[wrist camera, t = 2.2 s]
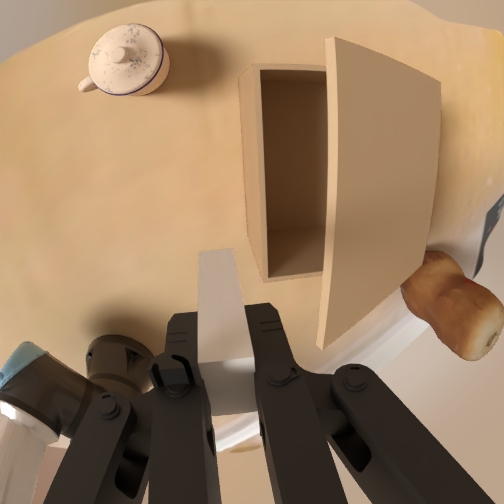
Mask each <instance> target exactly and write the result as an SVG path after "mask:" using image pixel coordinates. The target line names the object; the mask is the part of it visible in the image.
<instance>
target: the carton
mask: <svg viewBox="0 0 504 504" xmlns="http://www.w3.org/2000/svg"><path fill="white" fill-rule="evenodd" d="M239 97H240V114H241V131H242V149H243V166H244V183H245V200H246V216H247V233H248V238H249V241H250V244H251V247H252V250H253V253H254V256H255V260H256V263H257V266H258V269H259V272H260V275H261V278H262V281H263V283H268V282H276V281H284V280H292V279H299V278H307V277H314V276H322V275H323V267H324V252H325V235H326V215H327V186H328V100H327V73H326V66H319V65H301V64H253V65H252V66H251V67H250V68H249V69H248V70H247V71H246V72H245V73H244V74H243V75H242V76H241V77H240V78H239Z"/></svg>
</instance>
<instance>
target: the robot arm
mask: <svg viewBox="0 0 504 504" xmlns="http://www.w3.org/2000/svg"><path fill="white" fill-rule="evenodd" d="M86 369H87V378H85V377H83V376H82V375H80V374H79V373H77V372H76V371H74V370H72V369H71V368H69V367H68V366H66V365H65V364H63V363H62V362H61V361H59V360H58V359H56V358H55V357H53V356H52V355H50V354H49V352H48V351H44V350H43V349H41V348H40V347H38V346H37V345H35V344H34V343H32V342H29V341H27V342H23V343H22V344H20V345H19V346H18V348H17V349H16V350H15V351H14V352H13V354H12V355H11V356H10V358H9V359H8V360H7V362H6V363H5V365H4V366H3V368H2V370H1V372H0V504H32V502H33V497H34V493H35V489H36V484H37V480H38V476H39V472H40V468H41V464H42V460H43V457H44V453H45V450H46V446H47V445H49V444H51V443H54V442H57V441H58V440H59V436H60V434H62V435H64V436H66V437H68V438H70V439H71V440H70V445H69V447H68V449H67V451H66V453H65V456H64V458H63V460H62V462H61V464H60V466H59V469H58V471H57V473H56V475H55V477H54V480H53V482H52V484H51V486H50V489H49V491H48V493H47V496H46V498H45V500H44V503H43V504H141V503H142V500H143V497H144V494H145V490H146V487H147V484H148V481H149V496H148V497H149V498H148V500H149V501H148V502H149V503H148V504H222V502H221V494H220V485H219V476H218V467H217V456H216V445H215V433H214V428H213V425H212V417H211V413H212V416H221V415H231V414H240V413H248V412H255V411H258V415H259V425H260V436H262V441H263V446H264V451H265V456H266V462H267V466H268V472H269V476H270V481H271V486H272V491H273V496H274V501H275V504H348V502H347V499H346V496H345V493H344V490H343V487H342V484H341V481H340V478H339V475H338V472H337V469H336V466H335V463H334V460H333V457H332V454H331V451H330V448H329V445H328V442H329V444H330V445H331V447H332V448H333V450H334V451H335V452H336V454H337V455H338V457H339V458H340V460H341V461H342V462H343V464H344V465H345V467H346V468H347V470H348V471H349V472H350V474H351V475H352V476H353V478H354V479H355V481H356V482H357V483H358V485H359V486H360V488H361V489H362V490H363V492H364V493H365V494H366V496H367V497H368V499H369V500H370V501H371V503H372V504H495V503H494V502H493V500H492V499H491V498H490V497H489V496H488V495H487V494H486V493H485V492H484V491H483V489H482V488H481V487H480V486H479V485H478V484H477V483H476V482H475V481H474V480H473V478H472V477H471V476H470V475H469V474H468V473H467V472H466V471H465V470H464V469H463V468H462V466H461V465H460V464H459V463H458V462H457V461H456V460H455V459H454V458H453V457H452V456H451V454H450V453H448V451H447V450H446V449H445V448H444V447H443V446H442V445H441V444H440V442H439V441H438V440H437V439H436V438H435V437H434V436H433V435H432V434H431V433H430V432H429V431H428V429H427V428H426V427H425V426H424V425H423V424H422V423H421V422H420V421H419V420H418V419H417V418H416V416H415V415H414V414H413V413H412V412H411V411H410V410H409V409H408V408H407V407H406V406H405V405H404V404H403V402H402V401H401V400H400V399H399V398H398V397H397V396H396V395H395V394H394V393H393V392H392V391H391V390H390V389H389V387H388V386H387V385H386V384H385V383H384V382H383V381H382V380H381V379H380V378H379V377H378V376H377V375H376V373H375V372H374V371H372V370H371V369H370V368H368V367H367V366H364V365H361V364H347V365H344V366H342V367H340V368H339V369H337V370H336V371H335V373H334V375H332V374H317V373H311V372H309V371H306V370H304V369H303V368H301V367H300V366H299V365H298V364H297V363H296V362H295V360H294V358H293V355H292V352H291V349H290V346H289V343H288V340H287V337H286V334H285V331H284V329H283V325H282V322H281V319H280V316H279V313H278V310H277V309H276V308H274V307H273V306H272V305H271V304H270V303H261V304H253V305H245V306H244V303H243V298H242V293H241V288H240V283H239V278H238V272H237V267H236V262H235V256H234V251H233V248H229V249H220V250H210V251H201V252H199V276H198V312H188V313H177V314H174V315H173V317H172V318H171V319H170V321H169V322H168V326H167V335H166V344H165V352H164V353H162V354H160V355H158V356H156V357H155V358H154V357H153V355H152V354H151V352H150V351H149V350H148V349H147V348H146V347H144V346H143V345H142V344H140V343H138V342H137V341H135V340H132V339H130V338H127V337H123V336H118V335H106V336H101V337H99V338H97V339H95V340H94V341H93V342H92V343H91V344H90V346H89V349H88V351H87V354H86ZM151 384H153V386H154V388H153V389H151V390H150V391H148V390H149V388H150V386H151ZM147 391H148V392H147ZM327 441H328V442H327Z"/></svg>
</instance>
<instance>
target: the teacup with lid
mask: <svg viewBox="0 0 504 504" xmlns="http://www.w3.org/2000/svg"><path fill="white" fill-rule="evenodd" d="M169 67H170V60H169V56H168V53H167V51H166V50H165V48H164V47H163V44H162V41H161V39H160V37H159V36H158V35H157V33H156V32H155V31H153V30H152V29H151V28H149V27H147V26H144V25H141V24H125V25H121V26H118V27H116V28H113V29H112V30H110V31H108V32H107V33H106V34H104V35H103V36H102V37H101V38H100V39H99V40H98V42H97V43H96V44H95V46H94V48H93V50H92V52H91V55H90V59H89V72H90V76H88V77H87V78H85V79H84V80H82V81H81V82H80V84H79V90H80V91H81V92H89V91H93V90H95V89H98V88H99V89H100V90H102V91H104V92H105V93H108V94H111V95H130V96H141V95H145V94H148V93H150V92H152V91H154V90H155V89H157V88H158V87H159V86H160V85H161V84H162V83H163V82H164V80H165V78H166V77H167V74H168V72H169Z"/></svg>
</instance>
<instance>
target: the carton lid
mask: <svg viewBox="0 0 504 504" xmlns="http://www.w3.org/2000/svg"><path fill="white" fill-rule="evenodd" d="M325 54H326V73H327V100H328V186H327V215H326V235H325V252H324V267H323V280H322V292H321V303H320V313H319V323H318V332H317V341H316V346H318V347H319V348H321V349H322V350H323V349H324V348H325V347H327V346H328V345H329V344H331V343H332V342H333V341H335V340H336V339H337V338H338V337H340V336H341V335H342V334H344V333H345V332H346V331H347V330H349V329H350V328H351V327H352V326H354V325H355V324H356V323H357V322H358V321H360V320H361V319H362V318H363V317H364V316H366V315H367V314H368V313H369V312H370V311H372V310H373V309H374V308H375V307H376V306H378V305H379V304H380V303H381V302H382V301H383V300H384V299H386V298H387V297H388V296H389V295H390V294H391V293H392V292H393V291H395V290H396V289H397V288H398V287H399V286H400V285H401V284H402V283H403V282H404V281H406V280H407V279H408V278H409V277H410V276H411V275H412V274H413V273H414V272H415V271H416V270H417V269H418V268H419V267H420V266H421V265H422V263H423V259H424V254H425V249H426V244H427V239H428V234H429V228H430V223H431V217H432V210H433V204H434V196H435V189H436V180H437V171H438V160H439V146H440V126H441V82H440V81H438V80H436V79H434V78H432V77H430V76H428V75H426V74H424V73H422V72H420V71H418V70H416V69H414V68H412V67H410V66H408V65H406V64H403V63H401V62H399V61H397V60H395V59H392V58H390V57H388V56H385V55H383V54H380V53H378V52H375V51H373V50H370V49H368V48H365V47H362V46H360V45H357V44H354V43H351V42H348V41H345V40H342V39H339V38H336V37H330V38H325Z"/></svg>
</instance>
